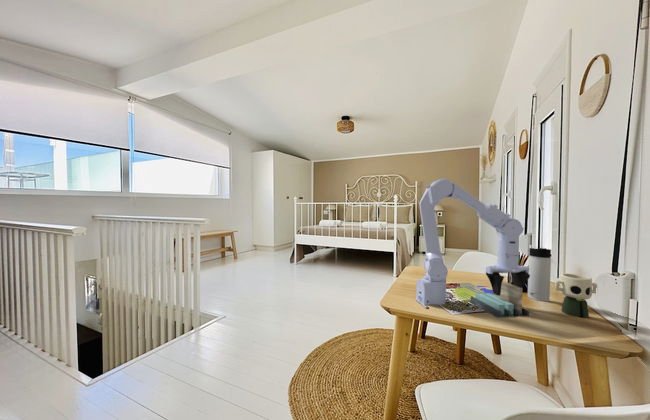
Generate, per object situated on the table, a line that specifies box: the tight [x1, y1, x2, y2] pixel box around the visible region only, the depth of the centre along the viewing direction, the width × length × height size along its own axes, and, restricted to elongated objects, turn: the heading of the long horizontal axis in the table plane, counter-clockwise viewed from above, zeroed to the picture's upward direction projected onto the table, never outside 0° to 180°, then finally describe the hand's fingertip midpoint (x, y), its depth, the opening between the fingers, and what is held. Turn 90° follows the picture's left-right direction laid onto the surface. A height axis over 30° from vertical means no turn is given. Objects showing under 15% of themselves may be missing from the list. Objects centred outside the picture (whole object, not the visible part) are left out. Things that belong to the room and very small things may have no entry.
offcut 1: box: [475, 293, 505, 314], centre depth 85 cm, size 2×10×3 cm, turn 8°
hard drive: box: [476, 285, 493, 295], centre depth 102 cm, size 2×8×12 cm
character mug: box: [554, 272, 598, 319], centre depth 81 cm, size 11×7×13 cm, turn 75°
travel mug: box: [527, 247, 552, 303], centre depth 94 cm, size 6×7×20 cm
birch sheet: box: [493, 280, 524, 313], centre depth 86 cm, size 2×10×8 cm, turn 8°
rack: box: [465, 296, 535, 319], centre depth 86 cm, size 13×14×2 cm
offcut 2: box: [483, 292, 514, 314], centre depth 86 cm, size 2×10×3 cm, turn 7°
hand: (506, 294), depth 86 cm, fingers open, 7 cm apart
